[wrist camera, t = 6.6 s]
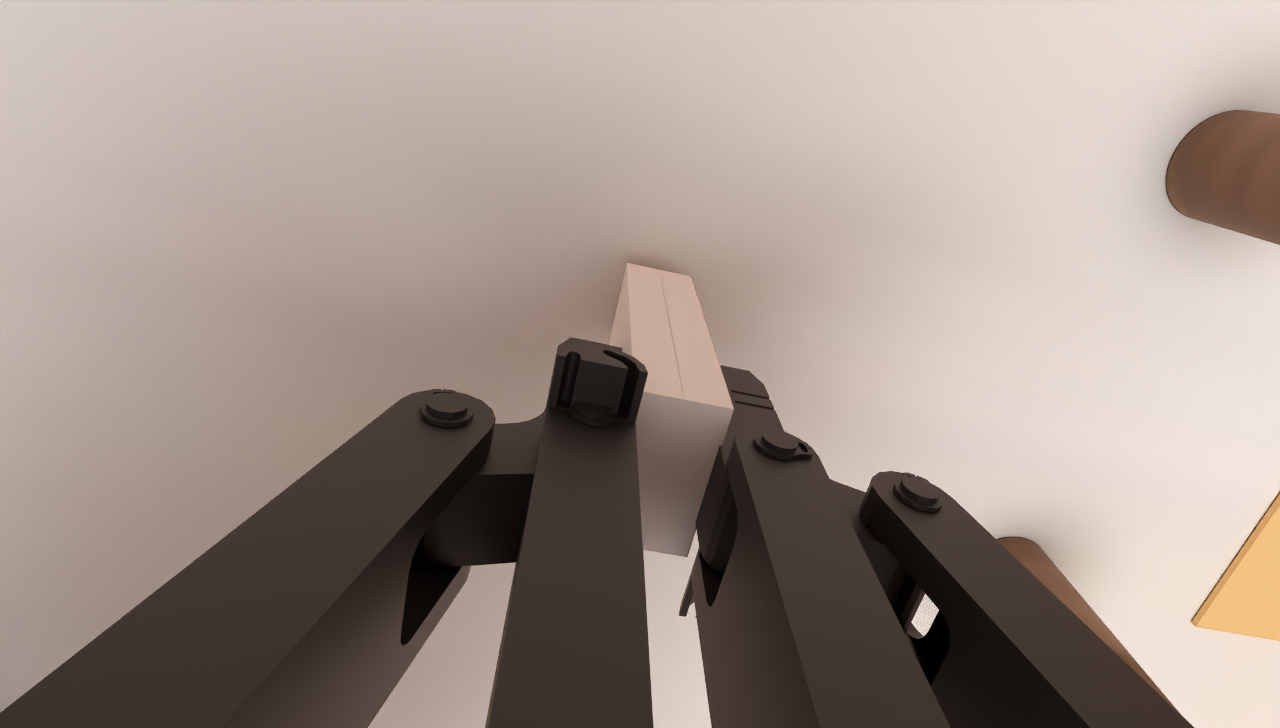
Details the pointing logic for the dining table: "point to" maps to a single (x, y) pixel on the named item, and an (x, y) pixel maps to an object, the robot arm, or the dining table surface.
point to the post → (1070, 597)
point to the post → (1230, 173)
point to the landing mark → (1249, 586)
